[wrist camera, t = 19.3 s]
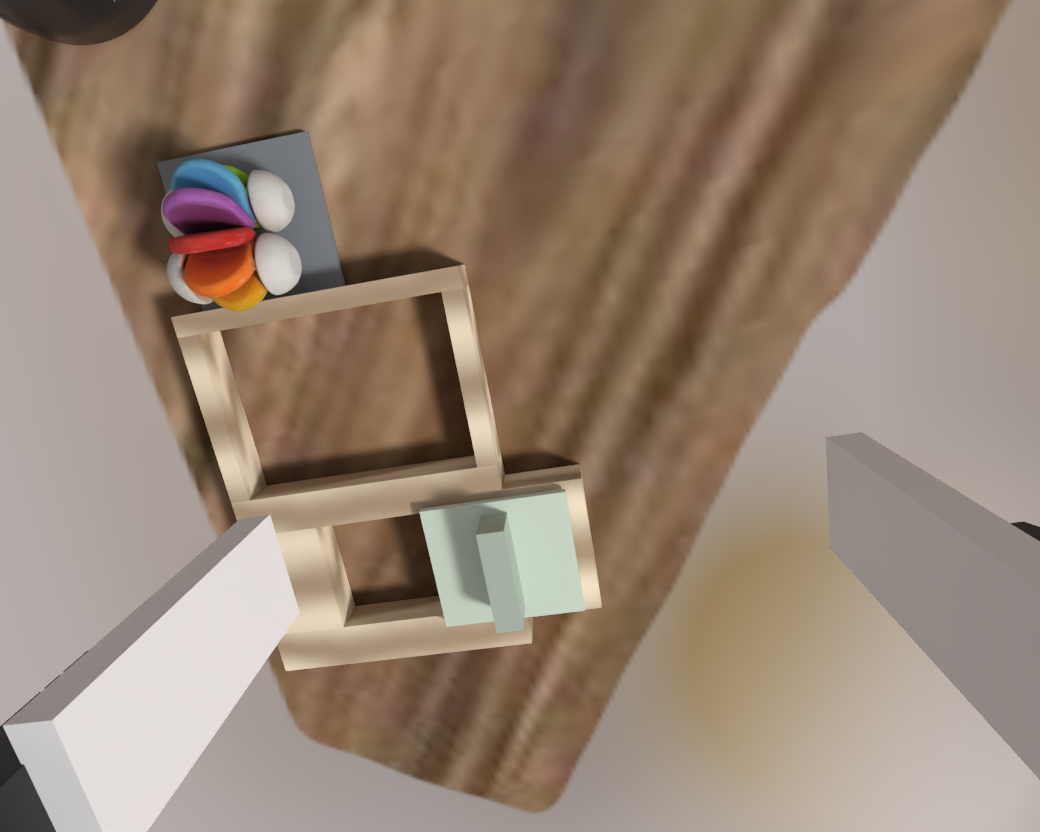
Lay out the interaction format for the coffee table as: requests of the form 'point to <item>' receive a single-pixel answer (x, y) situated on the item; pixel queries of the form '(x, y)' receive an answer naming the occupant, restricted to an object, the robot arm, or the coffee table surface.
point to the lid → (504, 559)
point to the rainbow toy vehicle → (228, 235)
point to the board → (368, 486)
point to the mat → (310, 216)
